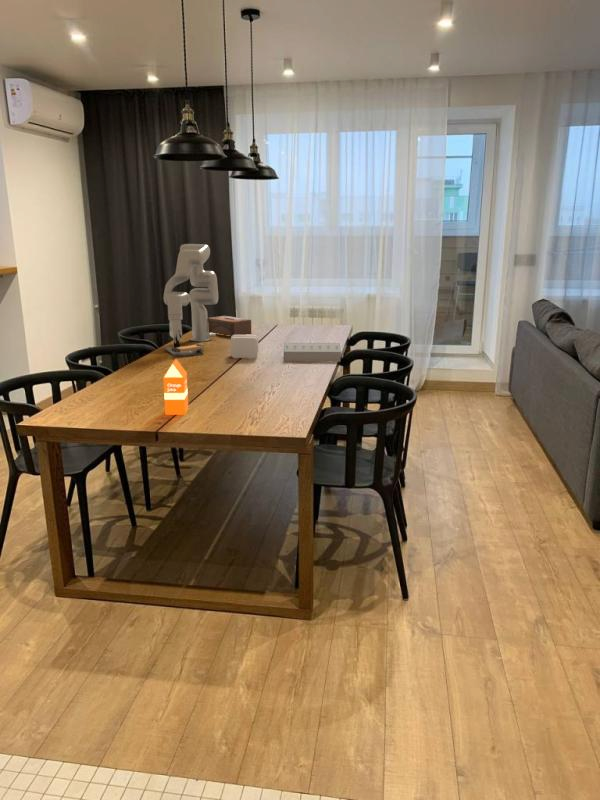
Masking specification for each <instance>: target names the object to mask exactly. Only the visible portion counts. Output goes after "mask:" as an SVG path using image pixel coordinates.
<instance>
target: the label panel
mask: <svg viewBox="0 0 600 800" xmlns="http://www.w3.org/2000/svg"><path fill="white" fill-rule="evenodd" d="M183 346H184V345H180V347H183ZM172 347H173V346H169V347H168V346H167V347H164V349H163V350H165V351H166V352H168V354H170V355H171V356H172V357H173V358H182V357H183V356H184V357H193V356H194V355H196V356H203V355H204V353H203V352H204V350H205V349H204V347H203V349H198V350H191V351H184V352H179V353H177V352H174V351H172ZM194 357H195V356H194Z"/></svg>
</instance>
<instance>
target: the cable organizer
mask: <svg viewBox="0 0 600 800" xmlns="http://www.w3.org/2000/svg"><path fill="white" fill-rule="evenodd" d="M258 354H259V337H258V335H255V334H251V335H233V336H232V337H230V356H231V357H232V358H234V359H236V358H242V359H247V358H249V359H248V360H254V359H256V358H257V357H258Z"/></svg>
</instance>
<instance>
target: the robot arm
mask: <svg viewBox="0 0 600 800" xmlns="http://www.w3.org/2000/svg"><path fill="white" fill-rule="evenodd" d="M210 255H211V248H210V247H209V245H208V244H205V243H204V244H202V243H201V244H200V243H198V244H197V243H184V244H181V245H180V247H179V253H178V256H177V262H176V268H175V273H174V274H173V276H172V277H171V278H169V280H168V281H167V282H166V284H165V286H164V290H163V291H164V292H163V302H164V304H165V305H167V316H168V321H169V336H170V337H171V338H172V339H173V347H175V348H176V347H180V346H181V338H182V337H183V328H182V320H183V319H184V318H183V317H184V316H183V307H186V306H188V305H189V304H190V307H191V326H192V327H191V329H192V337H190V338H189V340H190V341H192V342H208V340H209V341H211V339H212V338H211V337H216V335H217V334H216V333H209V328H208V318H209V317H208V310H207V308H206V307H205V305H212V306H213V305H217V304H218V302H219V290H218V289H219V287H218V286H219V285H218V277H217V274H216V273H215V271H213V270H204V264H205V263H206V262H207V260H208V259H209V258H210ZM187 281H190V284H191V286H193V287H195V288H193V289H191V290H190V291H189V293H187V292H185V291H173V290H174V289H175V287H176V286H178V285H179V284H182V283H184V282H187ZM196 287H197V288H196ZM199 287H200V288H199Z"/></svg>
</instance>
